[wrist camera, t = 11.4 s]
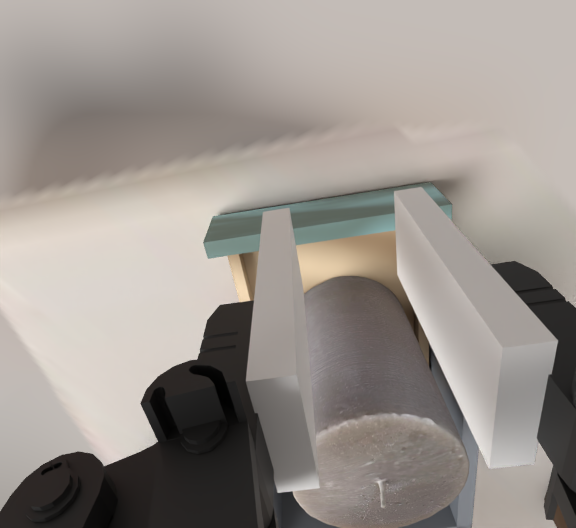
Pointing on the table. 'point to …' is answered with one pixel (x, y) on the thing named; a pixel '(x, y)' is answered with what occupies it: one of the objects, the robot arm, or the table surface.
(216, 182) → the table surface
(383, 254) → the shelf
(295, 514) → the cradle
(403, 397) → the pillar candle
